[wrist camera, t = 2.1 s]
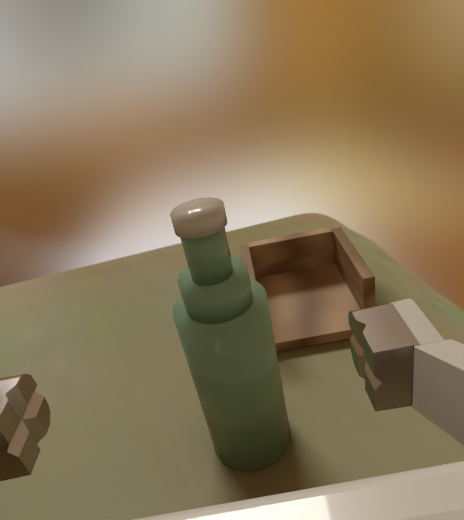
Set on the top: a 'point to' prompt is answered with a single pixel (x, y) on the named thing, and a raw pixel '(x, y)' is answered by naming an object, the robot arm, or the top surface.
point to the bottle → (228, 342)
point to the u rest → (310, 285)
